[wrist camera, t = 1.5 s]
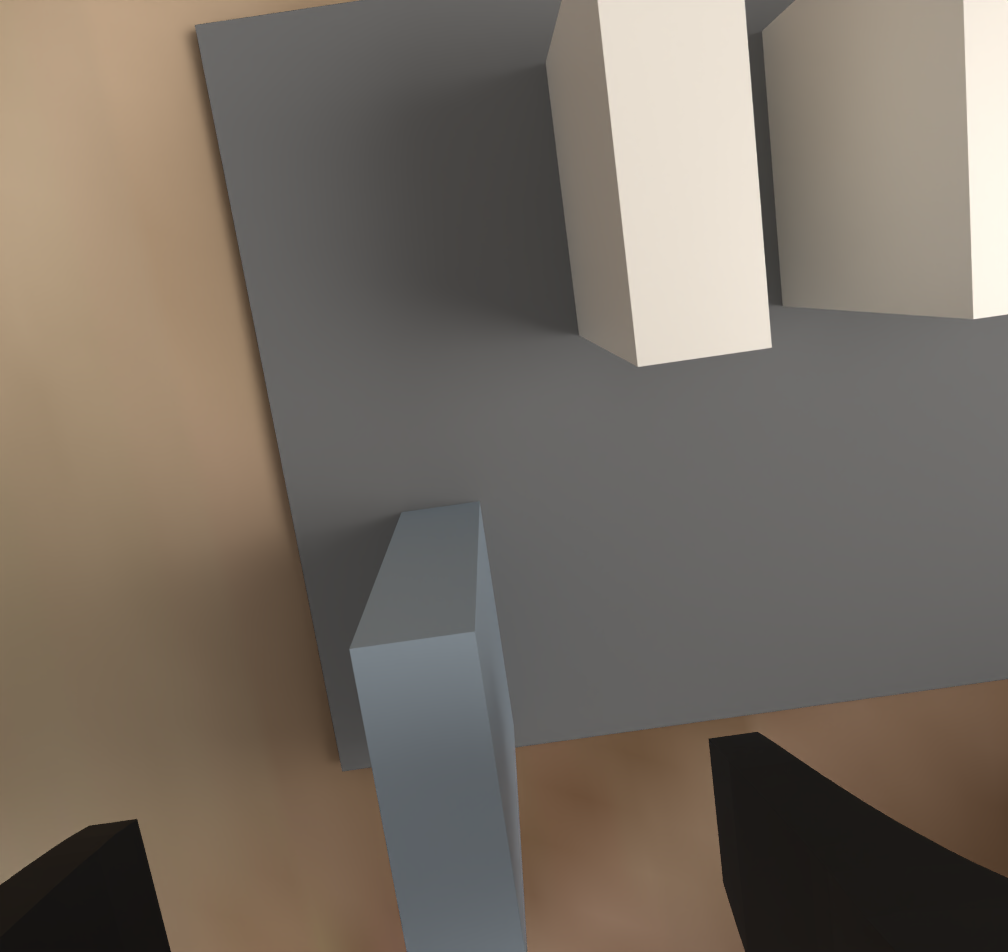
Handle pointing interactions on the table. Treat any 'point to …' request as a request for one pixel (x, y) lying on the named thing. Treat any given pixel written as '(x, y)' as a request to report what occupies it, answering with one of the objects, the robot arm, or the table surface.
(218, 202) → the table surface
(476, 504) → the end tile
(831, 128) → the tile
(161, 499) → the table surface
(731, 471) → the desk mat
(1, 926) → the robot arm
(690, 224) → the tile
